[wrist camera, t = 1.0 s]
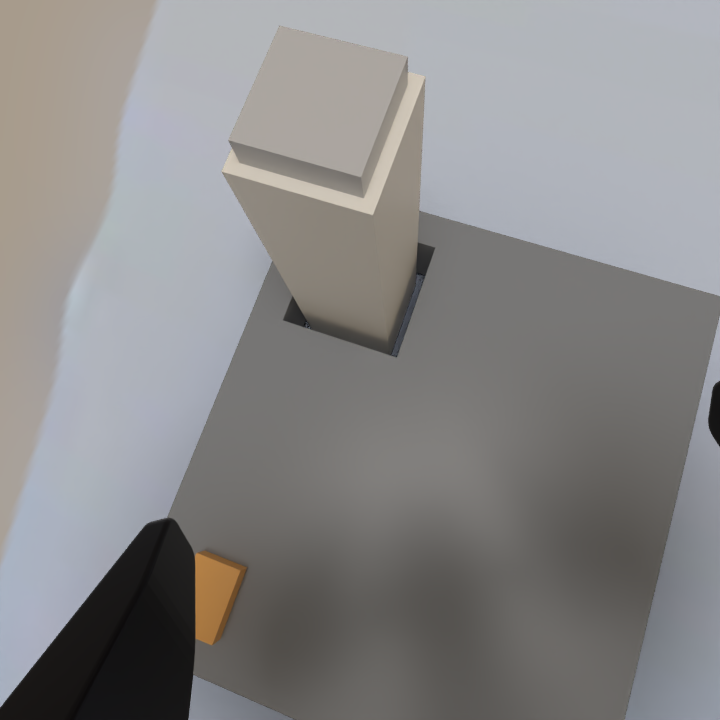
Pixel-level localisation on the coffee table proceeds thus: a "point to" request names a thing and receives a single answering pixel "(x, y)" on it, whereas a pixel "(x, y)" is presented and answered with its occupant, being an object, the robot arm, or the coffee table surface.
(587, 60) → the coffee table surface
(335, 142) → the plug
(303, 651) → the socket board
